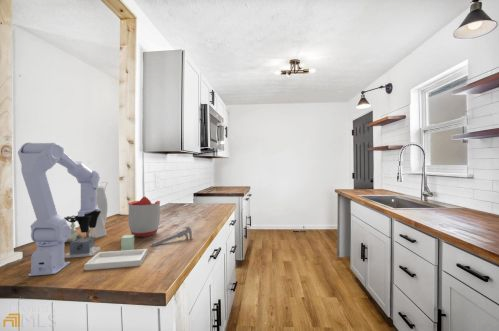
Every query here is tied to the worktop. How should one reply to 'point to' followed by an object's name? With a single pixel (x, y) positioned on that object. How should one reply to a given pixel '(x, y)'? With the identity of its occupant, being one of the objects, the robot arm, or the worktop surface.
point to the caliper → (174, 236)
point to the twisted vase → (102, 204)
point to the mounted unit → (82, 248)
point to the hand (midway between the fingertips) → (88, 229)
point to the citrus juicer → (144, 217)
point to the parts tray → (116, 259)
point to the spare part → (127, 242)
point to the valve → (72, 229)
